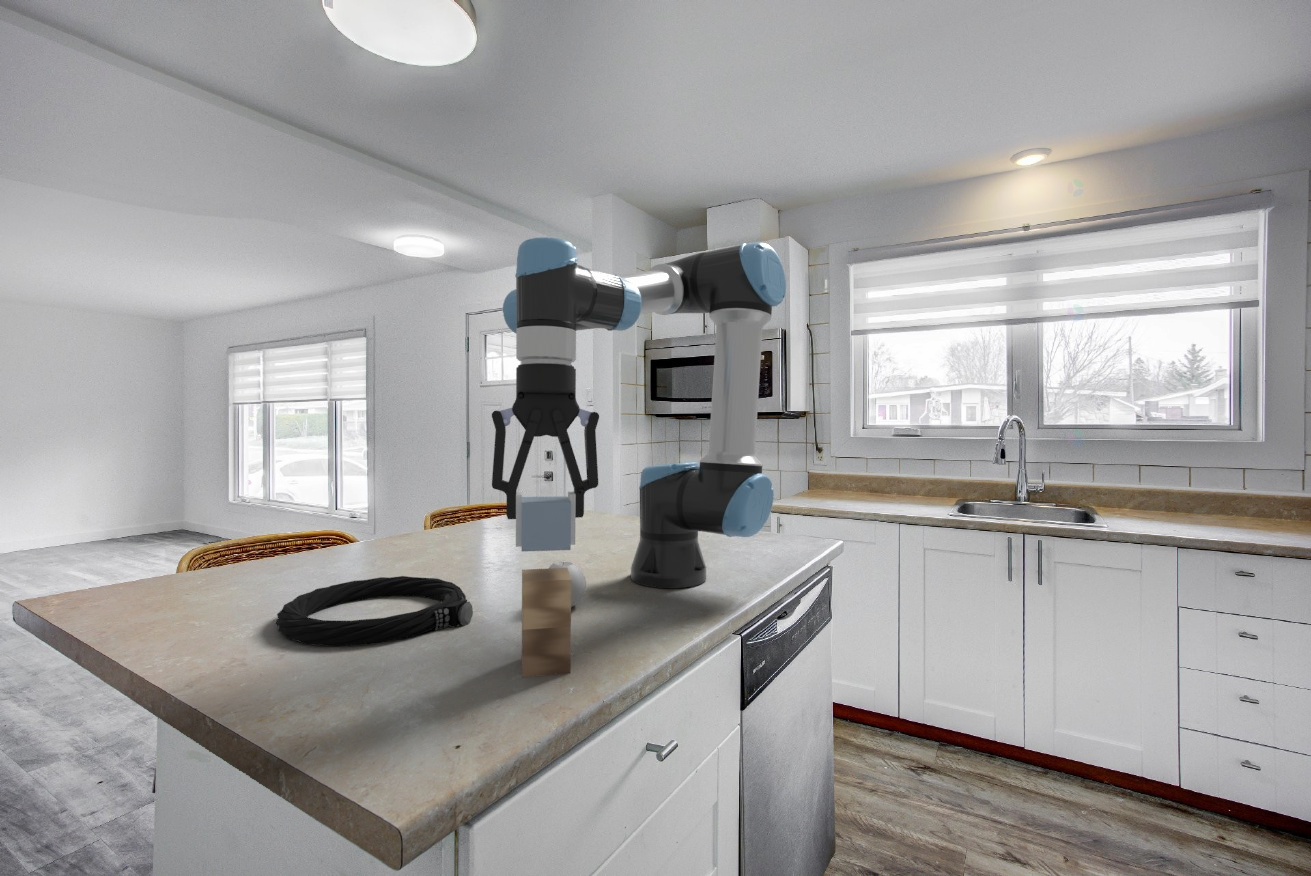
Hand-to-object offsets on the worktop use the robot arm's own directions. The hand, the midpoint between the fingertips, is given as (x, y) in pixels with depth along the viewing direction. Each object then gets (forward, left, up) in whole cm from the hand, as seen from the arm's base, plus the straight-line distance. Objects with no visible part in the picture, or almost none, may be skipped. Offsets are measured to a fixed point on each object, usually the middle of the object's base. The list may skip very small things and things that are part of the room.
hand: (545, 543), depth 79 cm
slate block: (0, 0, 0) cm, 0 cm away
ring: (+25, -25, -17) cm, 38 cm away
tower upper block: (0, 0, -10) cm, 10 cm away
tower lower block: (0, 0, -16) cm, 16 cm away
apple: (-4, -24, -16) cm, 29 cm away
